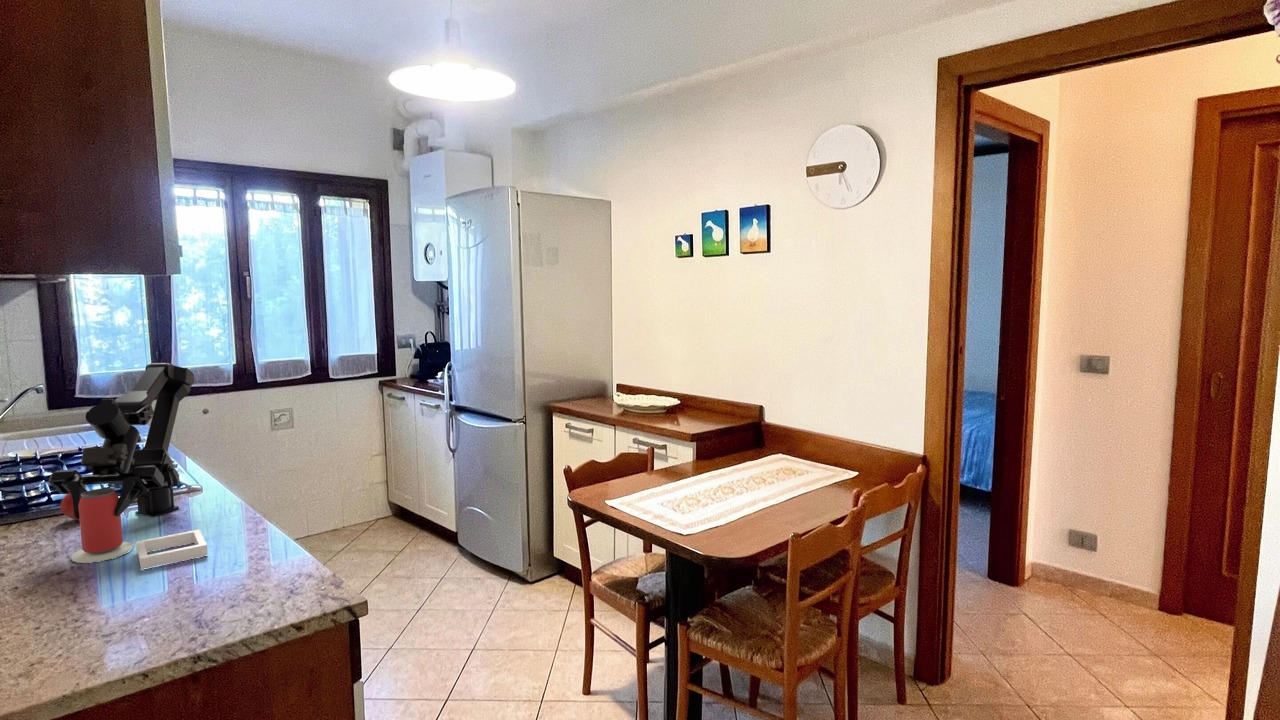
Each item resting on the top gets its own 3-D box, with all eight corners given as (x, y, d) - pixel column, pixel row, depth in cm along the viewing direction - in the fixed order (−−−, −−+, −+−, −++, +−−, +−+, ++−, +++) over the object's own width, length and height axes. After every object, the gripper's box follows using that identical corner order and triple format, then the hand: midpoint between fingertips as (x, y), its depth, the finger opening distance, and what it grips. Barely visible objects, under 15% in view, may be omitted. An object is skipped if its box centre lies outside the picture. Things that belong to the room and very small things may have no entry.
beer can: (124, 549, 139) (119, 492, 137) (83, 557, 134) (77, 499, 133) (122, 539, 144) (117, 485, 142) (82, 547, 139) (76, 491, 138)
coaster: (111, 541, 145) (110, 539, 145) (145, 547, 142) (144, 544, 142) (59, 559, 136) (59, 557, 136) (94, 566, 133) (94, 563, 133)
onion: (56, 522, 156) (52, 488, 155) (84, 514, 162) (81, 482, 161) (71, 525, 154) (68, 492, 153) (99, 517, 160) (96, 485, 159)
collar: (137, 553, 139) (136, 541, 139) (200, 540, 146) (199, 529, 146) (141, 570, 131) (140, 558, 130) (207, 556, 138) (206, 544, 138)
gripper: (48, 432, 137) (21, 502, 128) (154, 428, 142) (134, 495, 133) (73, 459, 146) (49, 527, 137) (172, 454, 151) (155, 519, 142)
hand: (96, 516), depth 137 cm, fingers closed on beer can, 6 cm apart
